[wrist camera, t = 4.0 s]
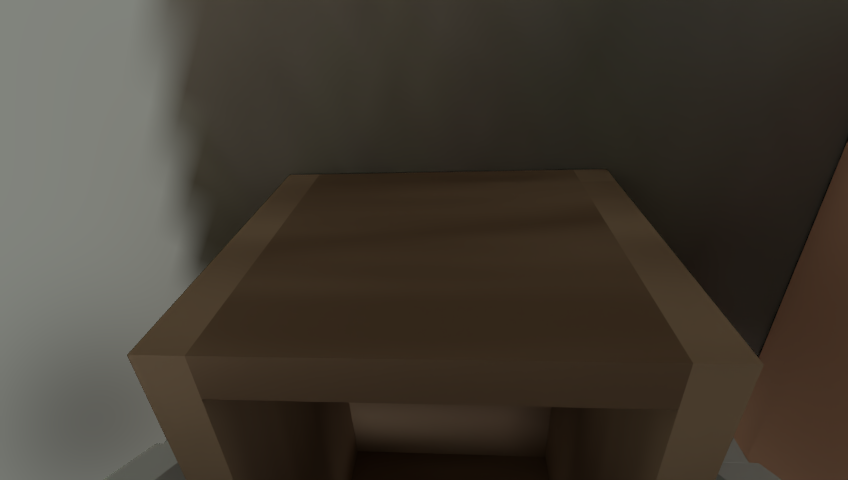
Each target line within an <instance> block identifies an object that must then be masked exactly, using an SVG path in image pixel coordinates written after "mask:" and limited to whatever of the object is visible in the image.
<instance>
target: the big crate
mask: <svg viewBox="0 0 848 480" xmlns="http://www.w3.org/2000/svg"><path fill="white" fill-rule="evenodd" d="M759 359H760V360H761V362H762V363H763V364H764V365H763V368H762V370H761V372H760V375H759V377H758V380H757V382H756V384H755V387H754V389H753V392H752V394H751V396H750V399H749V401H748V403H747V406H746V408H745V411H744V413H743V415H742V418H741V420H740V423H739V425H738V427H737V430H736V432H735V434H734V439H735V441H736V442H737V444H738V445H739V447H740V449H741V450H742V452H743V454H744V455H745V457H746V458H747V460H748V462H749V463H759V464H761V465H762V466H763V467H765V468H766V469H768V470H769V471H770V472H772V473H773V474H774V475H776V476H777V477H779V478H780V479H781V480H848V141H847V143H846V146H845V148H844V151H843V153H842V156H841V158H840V161H839V163H838V165H837V168H836V170H835V173H834V175H833V178H832V180H831V183H830V185H829V187H828V190H827V192H826V195H825V197H824V200H823V202H822V205H821V207H820V209H819V212H818V214H817V217H816V219H815V222H814V224H813V227H812V229H811V231H810V234H809V236H808V239H807V241H806V244H805V246H804V249H803V251H802V253H801V256H800V258H799V261H798V263H797V266H796V268H795V270H794V273H793V275H792V278H791V280H790V283H789V285H788V288H787V290H786V292H785V295H784V297H783V300H782V302H781V305H780V307H779V310H778V312H777V314H776V317H775V319H774V322H773V324H772V327H771V329H770V332H769V334H768V336H767V339H766V341H765V344H764V346H763V349H762V351H761V354H760V356H759Z"/></svg>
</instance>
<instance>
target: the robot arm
mask: <svg viewBox="0 0 848 480" xmlns="http://www.w3.org/2000/svg"><path fill="white" fill-rule="evenodd" d="M104 480H186V479H185V477H184V475H183V472H182V470H181V468H180V466H179V464H178V462H177V460H176V458H175V456H174V453H173V451H172V449H171V447H170V445H169V443H168V441H167V439H166V441H165V443H164V444H155V445H153V446H152V447H150V448H149V449H147V450H146V451H145V452H143V453H142V454H140V455H139V456H137V457H136V458H134V459H133V460H131V461H130V462H129V463H127V464H126V465H124V466H123V467H121V468H120V469H118V470H117V471H115V472H114V473H113V474H111V475H110V476H108V477H107V478H105V479H104ZM716 480H781V479H780V478H779V477H777V476H776V475H774V474H773V473H772V472H770V471H769V470H768V469H766V468H765V467H763V466H762V465H761V464H759V463H749V462H748V460H747V458H746V457H745V455H744V454H743V452H742V450H741V449H740V447H739V445H738V444H737V442H736V441H735V439H734V437H733V439H732V442H731V444H730V446H729V449H728V451H727V454H726V456H725V458H724V461H723V463H722V465H721V468H720V470H719V473H718V475H717V477H716Z"/></svg>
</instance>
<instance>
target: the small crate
mask: <svg viewBox="0 0 848 480" xmlns="http://www.w3.org/2000/svg"><path fill="white" fill-rule="evenodd" d="M127 356H128V358H129V360H130V363H131V364H132V367H133V369H134V371H135V373H136V375H137V377H138V379H139V381H140V384H141V386H142V388H143V390H144V392H145V394H146V396H147V399H148V401H149V403H150V405H151V407H152V409H153V411H154V413H155V415H156V417H157V420H158V422H159V424H160V426H161V428H162V430H163V432H164V434H165V437H166V439H167V441H168V443H169V445H170V447H171V449H172V451H173V453H174V456H175V458H176V460H177V462H178V464H179V466H180V468H181V470H182V472H183V475H184V477H185V479H186V480H716V477H717V475H718V473H719V470H720V468H721V465H722V463H723V461H724V458H725V456H726V454H727V451H728V449H729V446H730V444H731V442H732V439H733V437H734V434H735V432H736V430H737V427H738V425H739V423H740V420H741V418H742V415H743V413H744V411H745V408H746V406H747V403H748V401H749V399H750V396H751V394H752V392H753V389H754V387H755V384H756V382H757V380H758V377H759V375H760V372H761V370H762V368H763V365H764V364H763V363H762V362H761V360H760V359H759V358H758V357H757V355H756V354H755V353H754V352H753V351H752V349H751V348H750V347H749V346H748V344H747V343H746V342H745V341H744V339H743V338H742V337H741V336H740V334H739V333H738V332H737V331H736V329H735V328H734V327H733V326H732V324H731V323H730V322H729V321H728V319H727V318H726V317H725V316H724V314H723V313H722V312H721V311H720V310H719V308H718V307H717V306H716V305H715V303H714V302H713V301H712V300H711V298H710V297H709V296H708V295H707V293H706V292H705V291H704V290H703V288H702V287H701V286H700V285H699V283H698V282H697V281H696V280H695V278H694V277H693V276H692V275H691V273H690V272H689V271H688V270H687V269H686V267H685V266H684V265H683V264H682V262H681V261H680V260H679V259H678V257H677V256H676V255H675V254H674V252H673V251H672V250H671V249H670V247H669V246H668V245H667V244H666V242H665V241H664V240H663V239H662V237H661V236H660V235H659V234H658V232H657V231H656V230H655V229H654V228H653V226H652V225H651V224H650V223H649V221H648V220H647V219H646V218H645V216H644V215H643V214H642V213H641V211H640V210H639V209H638V208H637V206H636V205H635V204H634V203H633V201H632V200H631V199H630V198H629V196H628V195H627V194H626V193H625V191H624V190H623V189H622V188H621V187H620V185H619V184H618V183H617V182H616V180H615V179H614V178H613V177H612V175H611V174H610V173H609V172H608V170H607V169H580V170H526V171H472V172H419V173H365V174H311V175H289V176H288V177H287V178H286V180H285V181H284V182H283V183H282V184H281V185H280V186H279V187H278V188H277V190H276V191H275V192H274V193H273V194H272V195H271V196H270V197H269V198H268V200H267V201H266V202H265V203H264V204H263V205H262V206H261V207H260V208H259V209H258V211H257V212H256V213H255V214H254V215H253V216H252V217H251V218H250V219H249V221H248V222H247V223H246V224H245V225H244V226H243V227H242V228H241V229H240V231H239V232H238V233H237V234H236V235H235V236H234V237H233V238H232V239H231V240H230V242H229V243H228V244H227V245H226V246H225V247H224V248H223V249H222V250H221V252H220V253H219V254H218V255H217V256H216V257H215V258H214V259H213V260H212V262H211V263H210V264H209V265H208V266H207V267H206V268H205V269H204V270H203V271H202V273H201V274H200V275H199V276H198V277H197V278H196V279H195V280H194V281H193V283H192V284H191V285H190V286H189V287H188V288H187V289H186V290H185V291H184V293H183V294H182V295H181V296H180V297H179V298H178V299H177V300H176V301H175V303H174V304H173V305H172V306H171V307H170V308H169V309H168V310H167V311H166V313H165V314H164V315H163V316H162V317H161V318H160V319H159V320H158V321H157V322H156V324H155V325H154V326H153V327H152V328H151V329H150V330H149V331H148V332H147V334H146V335H145V336H144V337H143V338H142V339H141V340H140V341H139V343H138V344H137V345H136V346H135V347H134V348H133V349H132V350H131V351H130V352H129V353H128V355H127Z"/></svg>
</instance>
